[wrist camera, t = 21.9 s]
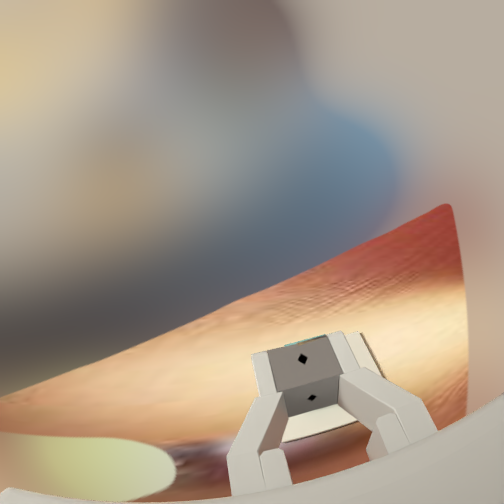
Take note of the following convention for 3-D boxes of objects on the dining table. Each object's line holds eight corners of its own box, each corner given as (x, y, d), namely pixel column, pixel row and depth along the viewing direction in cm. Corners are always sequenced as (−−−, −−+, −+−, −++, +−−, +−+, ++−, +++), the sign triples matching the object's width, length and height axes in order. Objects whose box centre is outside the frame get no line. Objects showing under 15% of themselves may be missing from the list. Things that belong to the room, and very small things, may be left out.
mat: (282, 442, 34) (282, 441, 34) (262, 359, 46) (262, 357, 46) (395, 406, 35) (396, 405, 35) (358, 332, 46) (358, 331, 46)
